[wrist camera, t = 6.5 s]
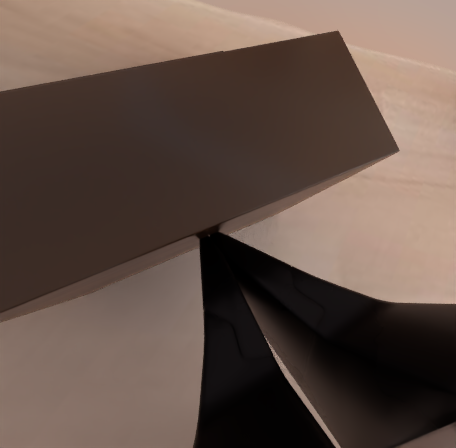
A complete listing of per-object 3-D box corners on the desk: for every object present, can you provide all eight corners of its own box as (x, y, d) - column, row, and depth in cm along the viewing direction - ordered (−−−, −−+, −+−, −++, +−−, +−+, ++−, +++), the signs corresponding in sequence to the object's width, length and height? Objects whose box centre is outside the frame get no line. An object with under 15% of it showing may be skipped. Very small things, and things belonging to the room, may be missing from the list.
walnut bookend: (278, 213, 18) (400, 150, 8) (86, 294, 14) (-113, 359, 4) (217, 78, 19) (261, -123, 9) (21, 120, 15) (-263, -146, 5)
